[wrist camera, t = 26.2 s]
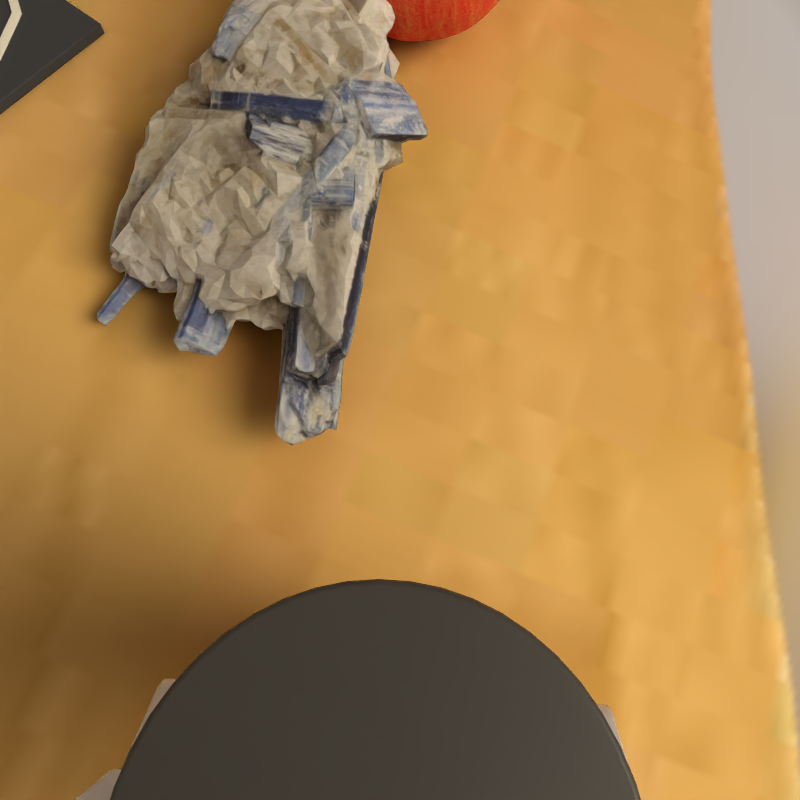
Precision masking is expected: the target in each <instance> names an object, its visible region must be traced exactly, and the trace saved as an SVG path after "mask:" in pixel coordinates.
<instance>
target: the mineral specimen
mask: <svg viewBox="0 0 800 800" xmlns="http://www.w3.org/2000/svg"><path fill="white" fill-rule="evenodd" d="M394 20H395V15H394V12H393V9H392V6H391V5H390V4H389V3H388V2H387V1H386V0H233V2H232V3H231V5H230V6H229V8H228V9H227V10H226V13H225V16H224V19H223V20H222V22H221V24H220V27H219V29H218V31H217V34H216V36H215V39H214V41H213V44H212V46H210V47H209V48H208V49H207V50H206V51H205V52H204V53H203V54H202V55H201V56H200V57H199V58H198V59H197V60H196V61H195V62H193V63H192V64H190V65H189V72H188V75H189V80H187V81H185V82H184V83H182V84H181V85H179V86H178V87H176V88H175V90H174V91H173V92H172V94H171V95H170V96H169V97H168V99H167V100H166V105H165V107H164V108H163V109H161V110H159V111H157V112H156V113H155V114H154V115H153V116H152V117H151V118H150V119H149V124H148V125H147V127H146V128H145V135H146V139H145V142H144V145H143V147H142V148H141V149H140V151H139V152H138V153H137V154H136V159H135V167H134V171H133V173H132V175H131V179H130V182H129V186H128V190H127V192H126V193H125V195H124V197H123V199H122V200H121V202H120V204H119V207H118V211H117V215H116V219H115V223H114V228H113V232H112V237H111V241H110V249H109V250H110V251H111V252H112V256H111V258H110V262H111V265H112V267H113V268H114V269H115V270H116V271H118V272H119V273H122V272H124V271H125V277H124V279H123V280H122V282H121V283H120V285H119V286H118V287H117V288H116V289H115V291H114V292H113V293H112V294H111V295H110V297H109V298H108V299H107V301H106V302H105V303H104V305H103V306H102V308H101V309H100V310H99V312H98V313H97V315H96V316H97V318H98V320H99V321H100V322H102V323H103V324H104V325H105V326H106V325H107V324H108V323H109V322H110V321H111V320H112V319H113V318H114V317H115V316H116V315H117V314H118V313H119V312H120V310H121V309H122V308H123V307H124V306H125V304H126V303H127V302H128V301H129V300H130V299H131V298H132V297H133V296H134V294H135V293H136V292H137V291H139V290H141V289H143V288H145V287H148V288H157V289H158V293H170V292H177V295H176V298H175V301H174V313H175V316H176V320H178V321H181V322H180V324H179V326H178V329H177V331H176V333H175V336H174V338H173V341H174V343H175V344H176V346H177V347H178V349H179V350H180V351H191V352H193V353H197V354H202V355H209V356H217V355H218V353H219V352H220V351H221V350H222V349H223V347H224V345H225V343H226V341H227V338H228V336H229V334H230V332H231V329H232V327H233V325H234V322H235V321H236V320H238V321H240V322H246V321H252V322H253V323H254V324H255V325H256V326H258V327H260V328H262V329H264V330H273V329H281V330H282V353H281V366H280V379H279V393H278V401H277V408H276V419H275V432H276V433H277V435H278V436H279V437H280V438H281V439H282V440H283V441H285V442H287V443H289V444H290V445H294V444H297V443H300V442H302V441H305V440H308V439H310V438H313V437H315V436H317V435H320V434H321V433H323V432H324V431H325V430H326V429H328V428H329V429H335V430H336V428H337V421H338V414H339V407H340V402H341V387H342V370H343V358H345V357H346V356H347V354H348V351H349V348H350V345H351V340H352V336H353V332H354V326H355V321H356V316H357V310H358V305H359V300H360V295H361V291H362V286H363V280H364V274H365V268H366V262H367V257H368V251H369V245H370V240H371V234H372V228H373V223H374V218H375V213H376V208H377V203H378V198H379V193H380V187H381V182H382V176H383V173H384V171H385V170H387V169H390V168H392V167H394V166H396V165H398V164H401V163H402V162H403V158H402V151H401V143H403V142H406V141H408V140H421V139H423V138H425V137H426V136H427V135H428V133H427V128H426V126H425V123H424V121H423V119H422V116H421V114H420V112H419V109H418V107H417V105H416V102H415V101H414V100H413V99H412V98H411V97H410V96H409V95H408V94H407V92H406V90H405V89H404V87H403V86H402V85H400V84H399V83H397V81H396V80H395V78H394V76H395V75H396V73H397V70H398V67H399V64H400V63H399V62H398V60H397V59H396V57H395V56H394V54H393V53H392V51H391V50H390V49H389V43H388V42H387V37H386V35H387V34H388V33H389V31H390V30H391V29H392V26H393V24H394Z"/></svg>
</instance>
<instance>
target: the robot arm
mask: <svg viewBox="0 0 800 800" xmlns="http://www.w3.org/2000/svg"><path fill="white" fill-rule="evenodd" d="M175 680H176V679H167V678H164V680H163V681H162V682H161V683H160V684H159V686H158V687H157V689H156V691H155V693H154V696H153V698H152V700H151V703H150V705H149V707H148V709H147V712H146V714H145V716H144V718H143V721H142V723H141V725H140V727H139V730H138V732H137V734H136V737H135V739H134V741H135V740H136V738H137V736H138V734H139V733H140V731H141V729H142V727H143V726H144V724H145V722H146V720H147V719H148V717H149V715H150V714H151V712H152V711H153V709H154V708H155V707H156V705H157V704H158V703H159V701H160V700H161V699H162V697H163V696H164V694H165V693H166V692H167V690H168V689H169V688H170V686H171V685H172V683H173V682H174V681H175ZM597 706H598V707H599V709H600V710H601V711H602V713H603V715H604V717H605V718H606V720H607V722H608V724H609V726H610V728H611V729H612V731H613V733H614V735H615V737H616V739H617V740H618V742H619V744H620V746H621V748H622V751H623V753H624V755H625V751H624V748H623V745H622V742H621V739H620V736H619V732H618V729H617V726H616V723H615V720H614V716H613V713H612V710H611V709H610V708H609V707H608V705H600V704H597ZM134 741H133V743H134ZM133 743H132V745H133ZM131 747H132V746H131ZM129 751H130V750H129ZM128 753H129V752H128ZM126 758H127V757H126ZM625 758H626V755H625ZM125 760H126V759H125ZM626 760H627V758H626ZM124 762H125V761H124ZM627 763H628V761H627ZM628 765H629V764H628ZM122 767H123V766H122ZM629 768H630V767H629ZM121 769H122V768H121ZM121 769H111V770H110V771H109V772H107V773H106V774H105V775H104V776H103V777H101V778H100V779H99V780H98V781H97V782H95V783H94V784H93V785H92V786H90V787H89V788H88V789H87V790H86V791H84V792H83V793H82V794H81V795H80V796H78V797H77V798H76V799H75V800H110V798H111V794H112V791H113V788H114V785H115V783H116V781H117V778H118V776H119V774H120V771H121Z"/></svg>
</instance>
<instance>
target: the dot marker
mask: <svg viewBox="0 0 800 800" xmlns="http://www.w3.org/2000/svg"><path fill="white" fill-rule="evenodd" d="M110 800H641V799H640V796H639V792H638V789H637V785H636V782H635V780H634V777H633V775H632V772H631V770H630V768H629V765H628V763H627V760H626V758H625V755H624V753H623V751H622V748H621V746H620V744H619V742H618V740H617V739H616V737H615V735H614V733H613V731H612V729H611V728H610V726H609V724H608V722H607V720H606V718H605V717H604V715H603V713H602V711H601V710H600V709H599V707H598V706H597V704H596V703H595V702H594V700H593V699H592V697H591V696H590V694H589V693H588V692H587V690H586V689H585V687H584V686H583V685H582V683H581V682H580V681H579V680H578V678H577V677H576V676H575V675H574V674H573V673H572V672H571V671H570V670H569V668H568V667H567V666H566V665H565V664H564V663H563V662H562V661H561V660H560V658H559V657H558V656H557V655H556V654H555V653H554V652H552V651H551V650H550V649H549V648H548V647H547V646H545V645H544V644H543V643H542V642H541V641H540V640H539V639H537V638H536V637H535V636H534V635H533V634H532V633H531V632H529V631H528V630H526V629H525V628H523V627H522V626H520V625H519V624H517V623H516V622H514V621H513V620H511V619H510V618H508V617H507V616H505V615H504V614H503V613H501V612H499V611H497V610H495V609H493V608H491V607H489V606H487V605H485V604H483V603H481V602H479V601H477V600H475V599H473V598H470V597H467V596H464V595H461V594H459V593H456V592H453V591H450V590H447V589H444V588H441V587H436V586H431V585H426V584H421V583H416V582H411V581H398V580H383V579H374V580H359V581H346V582H341V583H336V584H331V585H326V586H322V587H317V588H313V589H310V590H307V591H304V592H302V593H299V594H296V595H293V596H290V597H287V598H284V599H282V600H280V601H278V602H276V603H274V604H272V605H270V606H268V607H266V608H264V609H262V610H260V611H258V612H256V613H254V614H252V615H251V616H249V617H248V618H246V619H245V620H243V621H242V622H240V623H239V624H237V625H236V626H234V627H233V628H231V629H230V630H228V631H227V632H225V633H224V634H223V635H222V636H221V637H219V638H218V639H217V640H216V641H215V642H214V643H212V644H211V645H210V646H209V647H208V648H207V649H205V650H204V651H203V652H202V653H201V654H200V655H198V656H197V657H196V658H195V660H194V661H193V662H192V663H191V664H190V665H189V666H188V667H187V668H186V669H185V670H184V671H183V673H182V674H181V675H180V676H179V677H178V678H177V679H176V680H175V681H174V682H173V683H172V685H171V686H170V688H169V689H168V690H167V692H166V693H165V694H164V696H163V697H162V699H161V700H160V701H159V703H158V704H157V705H156V707H155V708H154V709H153V711H152V712H151V714H150V715H149V717H148V719H147V720H146V722H145V724H144V726H143V727H142V729H141V731H140V733H139V734H138V736H137V738H136V740H135V741H134V743H133V745H132V747H131V748H130V751H129V753H128V755H127V758H126V760H125V762H124V764H123V767H122V769H121V771H120V774H119V776H118V778H117V781H116V783H115V785H114V788H113V791H112V794H111V798H110Z"/></svg>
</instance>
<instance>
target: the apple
mask: <svg viewBox="0 0 800 800" xmlns="http://www.w3.org/2000/svg"><path fill="white" fill-rule="evenodd" d="M386 1H387V2H388V3H389V4H390V5H391V6H392V9H393V12H394V15H395V20H394V24H393V26H392V29H391V30H390V31H389V33H388V34H387V35H386V36H387V37H389V38H392V39H396V40H400V41H428V40H435V39H441V38H446V37H449V36H452V35H455V34H458V33H460V32H462V31H464V30H466V29H468V28H470V27H471V26H473V25H474V24H476V23H477V22H478V21H479V20H481V19H482V18H483V17H484V16H485V15H486V14H487V13H488V12H489V11H490V10H491V9H492V8H493V7H494V6H495V5H496V4H497V3H498V1H499V0H386Z"/></svg>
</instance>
